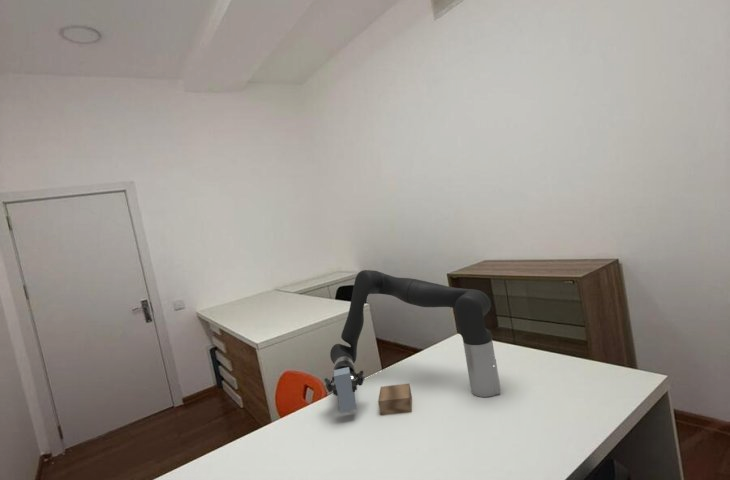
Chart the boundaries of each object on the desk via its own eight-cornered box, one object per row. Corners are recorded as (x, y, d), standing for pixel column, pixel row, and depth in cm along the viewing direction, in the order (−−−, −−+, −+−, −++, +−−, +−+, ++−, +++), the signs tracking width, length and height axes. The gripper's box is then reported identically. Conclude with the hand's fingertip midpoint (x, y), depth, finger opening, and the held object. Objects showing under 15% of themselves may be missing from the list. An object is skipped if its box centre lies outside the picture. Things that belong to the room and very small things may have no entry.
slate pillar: (355, 401, 129) (348, 367, 128) (356, 409, 124) (349, 373, 123) (340, 405, 129) (333, 370, 128) (340, 412, 124) (333, 376, 123)
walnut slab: (412, 397, 134) (409, 383, 133) (411, 412, 124) (409, 397, 124) (383, 400, 135) (380, 386, 135) (380, 416, 125) (378, 401, 125)
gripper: (322, 364, 140) (320, 384, 123) (361, 356, 141) (364, 375, 124) (326, 384, 140) (324, 407, 123) (365, 376, 141) (369, 397, 124)
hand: (344, 391), depth 124 cm, fingers closed on slate pillar, 5 cm apart
